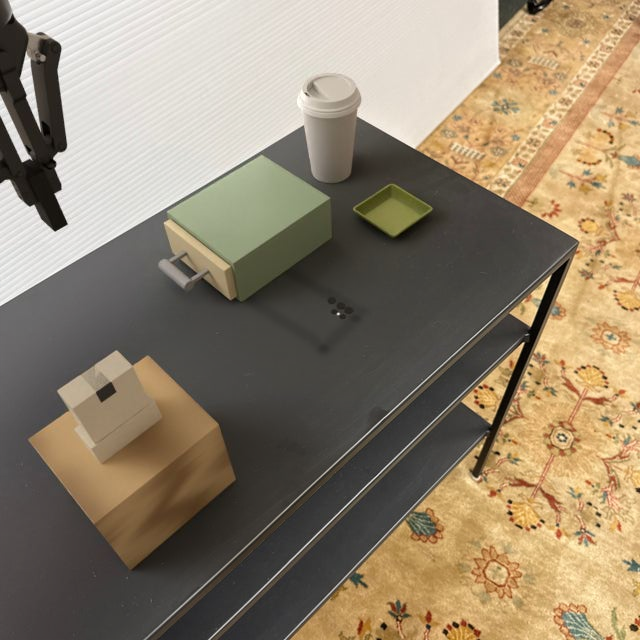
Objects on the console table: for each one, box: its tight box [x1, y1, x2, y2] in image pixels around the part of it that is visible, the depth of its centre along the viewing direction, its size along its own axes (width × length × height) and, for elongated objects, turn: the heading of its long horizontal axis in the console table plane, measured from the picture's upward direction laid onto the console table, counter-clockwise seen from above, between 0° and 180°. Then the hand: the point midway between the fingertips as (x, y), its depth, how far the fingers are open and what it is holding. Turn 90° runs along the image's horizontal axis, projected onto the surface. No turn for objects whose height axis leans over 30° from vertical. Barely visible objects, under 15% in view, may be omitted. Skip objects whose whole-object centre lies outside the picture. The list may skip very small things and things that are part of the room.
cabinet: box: [166, 154, 333, 303], centre depth 92 cm, size 18×15×8 cm
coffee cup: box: [296, 72, 363, 184], centre depth 100 cm, size 10×10×15 cm
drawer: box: [157, 218, 237, 301], centre depth 91 cm, size 21×13×6 cm, turn 134°
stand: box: [28, 355, 237, 571], centre depth 67 cm, size 14×12×12 cm
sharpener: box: [56, 349, 162, 464], centre depth 59 cm, size 7×3×9 cm, turn 134°
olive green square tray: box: [352, 183, 434, 239], centre depth 97 cm, size 9×9×2 cm
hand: (54, 221), depth 64 cm, fingers closed
